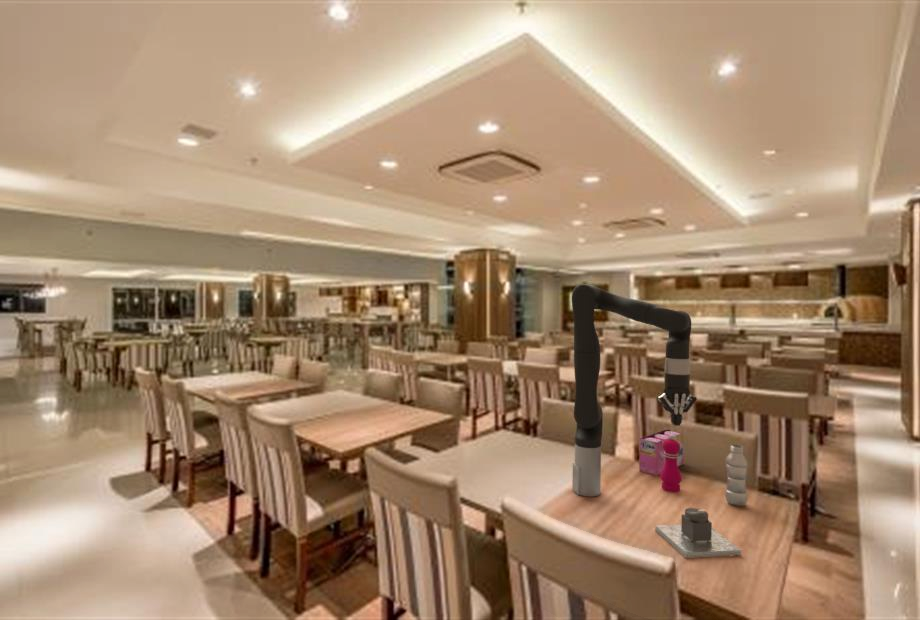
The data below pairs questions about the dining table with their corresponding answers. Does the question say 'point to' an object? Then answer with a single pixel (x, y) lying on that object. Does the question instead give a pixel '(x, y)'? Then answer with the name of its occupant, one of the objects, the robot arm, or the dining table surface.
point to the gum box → (657, 451)
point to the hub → (697, 543)
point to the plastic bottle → (736, 476)
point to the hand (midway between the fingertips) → (676, 425)
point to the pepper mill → (671, 466)
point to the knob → (696, 525)
